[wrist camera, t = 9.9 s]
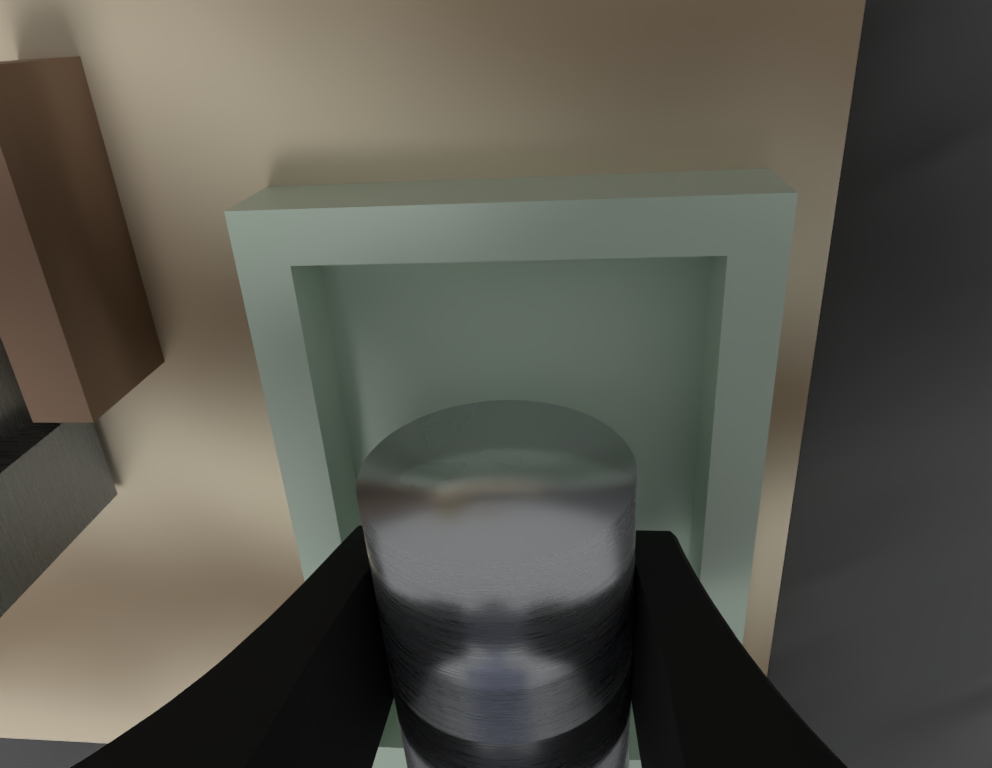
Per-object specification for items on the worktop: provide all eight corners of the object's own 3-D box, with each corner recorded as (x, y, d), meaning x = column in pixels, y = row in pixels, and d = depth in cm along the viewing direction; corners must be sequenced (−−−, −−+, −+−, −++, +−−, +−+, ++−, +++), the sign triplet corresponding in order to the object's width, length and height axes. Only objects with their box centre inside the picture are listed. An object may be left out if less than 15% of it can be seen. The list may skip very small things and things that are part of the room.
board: (743, 738, 18) (751, 777, 17) (-36, 701, 20) (-65, 733, 19) (918, -569, 8) (958, -640, 7) (-592, -357, 10) (-700, -390, 10)
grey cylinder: (620, 717, 14) (637, 924, 11) (434, 713, 15) (399, 913, 12) (626, 398, 11) (652, 561, 8) (387, 402, 11) (321, 561, 8)
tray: (711, 722, 16) (724, 792, 15) (365, 706, 17) (345, 770, 15) (769, 168, 11) (798, 192, 9) (267, 186, 12) (224, 210, 10)
